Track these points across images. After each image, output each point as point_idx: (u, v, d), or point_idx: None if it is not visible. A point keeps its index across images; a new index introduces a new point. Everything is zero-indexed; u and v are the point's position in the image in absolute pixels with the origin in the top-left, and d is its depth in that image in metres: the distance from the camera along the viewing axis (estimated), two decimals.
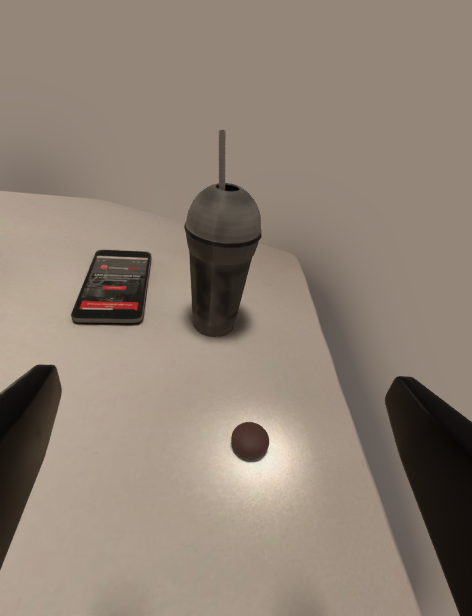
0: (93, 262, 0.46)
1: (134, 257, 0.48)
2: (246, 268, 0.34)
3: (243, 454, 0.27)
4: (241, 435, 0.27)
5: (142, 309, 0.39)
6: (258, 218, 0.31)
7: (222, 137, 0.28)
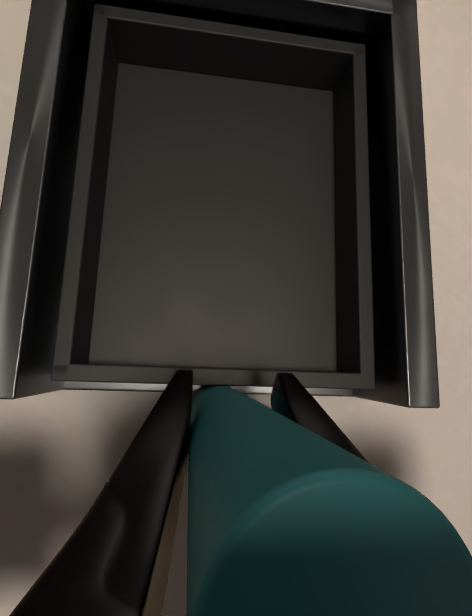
0: None
1: None
2: None
3: None
4: None
5: None
6: None
7: None
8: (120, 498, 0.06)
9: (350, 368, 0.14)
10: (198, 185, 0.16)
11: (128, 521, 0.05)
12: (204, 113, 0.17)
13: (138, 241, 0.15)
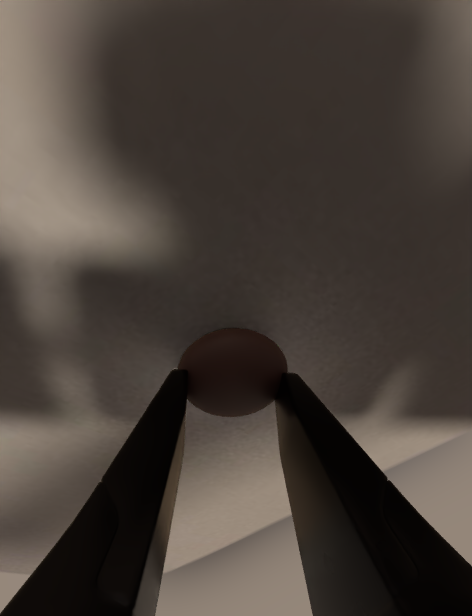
0: None
1: None
2: None
3: None
4: (209, 380, 0.09)
5: None
6: None
7: None
8: (112, 498, 0.06)
9: None
10: None
11: (119, 522, 0.05)
12: None
13: None
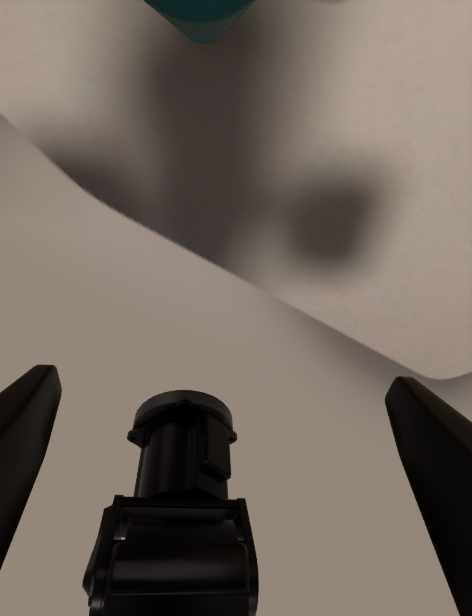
0: None
1: None
2: None
3: None
4: None
5: None
6: None
7: None
8: None
9: None
10: None
11: None
12: None
13: None
